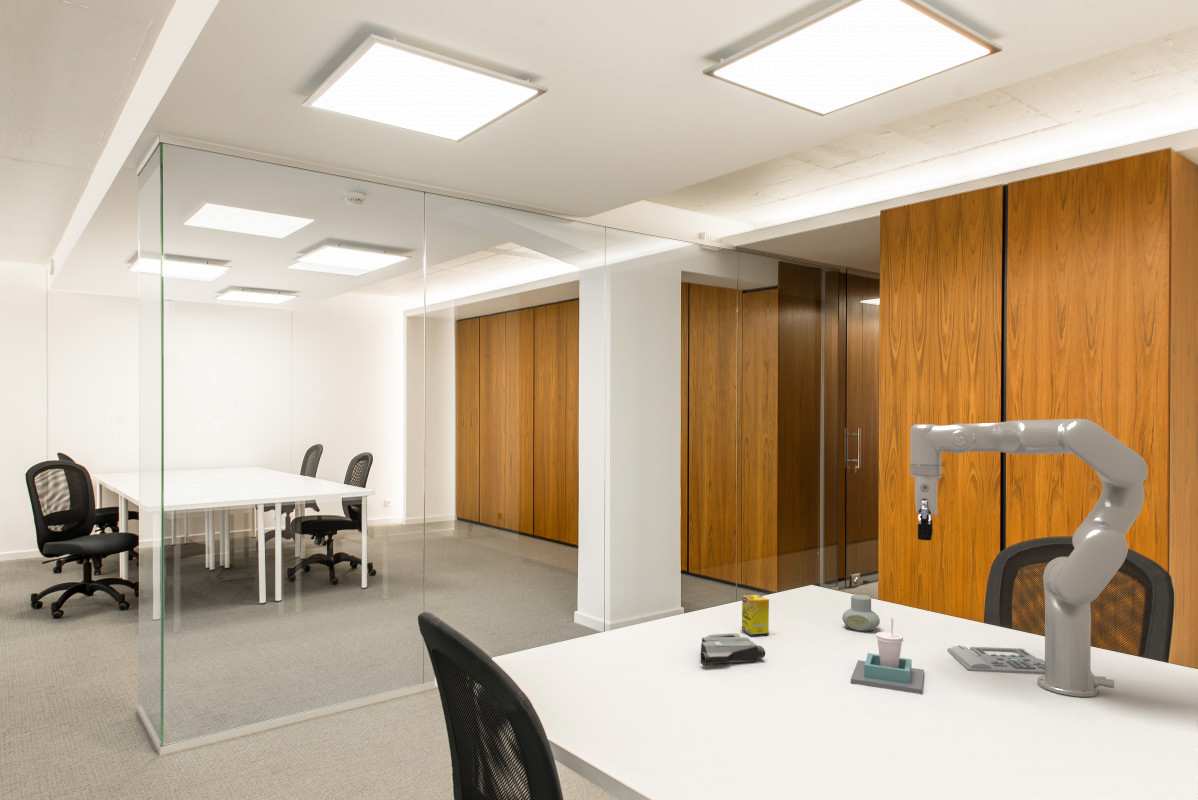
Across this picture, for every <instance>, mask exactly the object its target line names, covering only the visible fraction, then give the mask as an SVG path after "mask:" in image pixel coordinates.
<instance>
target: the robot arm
mask: <svg viewBox="0 0 1198 800" xmlns="http://www.w3.org/2000/svg"><path fill="white" fill-rule="evenodd" d="M909 432H910V437H909V438H910V442H909V443H910V445H909V446H910V448H909V450H910V451H909V453H910V455H909V458H910V460H909V463H910V465H909V477H912V478H914V501H915V503H914V504H915V512H916V515H917V516H918V523H917V539H918V540H920V541H928V542H929V541H932V536H933V519H932V515H933V516H934V517H937V516H938V495H939V493H938V479H941V478H942V456H943V455H942V452H947V453H954V454H964V453H970V452H972V453H973V452H985V453H986V452H989V453H990V452H996V453H1005V454H1011V455H1059V454H1060V455H1063V454H1065V455H1066V454H1072V455H1073V454H1074V455H1075V456H1077V457H1078V458H1079V459H1080V460H1082V461H1083V462H1084V463H1086V464H1087V465H1088V466H1089V467H1091V468H1092V469H1093V470H1095V473H1096V475H1097V476H1098V477H1099V479H1100V481H1101V485H1102V490H1101V493H1100V494H1101V495H1100V496H1099V498H1098V500H1097V501H1096V503H1095V504H1094V506H1093V508H1091V511H1090V512H1089V513H1088V515H1087V516H1086V517H1085V518H1084V520H1083V521H1082V522H1081V523H1080V525H1079V526H1078V527H1077V528H1076V530H1075V531H1074V533H1073V535H1072V538H1071V539H1072V546H1073V548H1074V549H1073V550H1072V551H1071V553H1070V554H1069V556H1059V557H1055V558H1054V559H1052V560H1050V561H1049V562H1048V563H1047V564H1046V566H1045V568H1044V571H1043V579H1042V580H1043V581H1042V582H1043V593H1044V661H1045V675H1043V674H1041V675H1039V676H1038V677H1037V685H1039V686H1040V687H1041V688H1043V689H1045V690H1047V691H1050V692H1052V693H1057V694H1060V695H1065V696H1072V697H1081V698H1084V697H1085V698H1086V697H1087V698H1088V697H1095V696H1097V695H1098V694H1099V687H1104V688H1108V689H1115V681H1114V679H1111V678H1110V679H1109V678H1106V676H1100V675H1099V676H1098V675H1095V674H1093V672H1092V670H1091V658H1092V657H1091V656H1092V655H1091V653H1092V651H1091V645H1092V642H1091V641H1092V640H1091V638H1092V637H1091V636H1092V634H1091V633H1092V632H1091V631H1092V613H1091V603H1092V602H1093V601H1094V600H1096V598H1098V597H1099V596H1100V594H1101V593H1102V592H1103V590H1105V588H1106V587H1107V585H1108V584H1109V583H1110V581H1111V580H1112V579H1113V578H1114V576H1115V575H1116V573H1117V572H1118V571H1119V569H1120V568H1121V567H1122V566H1123V564H1124V563H1125V560H1126V557H1127V555H1128V552H1129V551H1128V550H1129V545H1128V542H1127V539H1126V538H1125V536H1126V535H1127V533H1128V532H1129V531H1130V529H1131V527H1133V524H1134V523H1135V521H1136V520H1137V519H1138V517H1139V515H1140V513H1141V511H1142V509H1143V506H1144V502H1145V487H1144V483H1143V482H1144V481H1145V480H1146V479H1147V477H1148V474H1149V473H1148V472H1149V468H1148V464H1147V463H1146V461H1145V460H1144V458H1143V457H1142V456H1141V455H1140V454H1138V453H1137V452H1136V451H1134V450H1133V449H1132V448H1130V447H1128V445H1127V444H1125V443H1123V442H1122V441H1121V440H1119V439H1118V438H1116V437H1115V436H1114V435H1112V433H1109V432H1108V431H1107V430H1106V429H1104V428H1103V427H1101V426H1100V425H1099V424H1097V423H1095V422H1094V421H1092V420H1089V419H1085V418H1063V419H1059V418H1058V419H1023V420H1022V419H1018V420H1017V419H1016V420H1009V421H1001V422H989V423H988V422H985V423H984V422H983V423H982V422H981V423H980V422H979V423H953V424H945V425H938V424H934V423H933V424H932V423H931V424H930V423H915V424H913V425H912V426H911V428H910V431H909Z"/></svg>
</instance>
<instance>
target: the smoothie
mask: <svg viewBox="0 0 1198 800" xmlns="http://www.w3.org/2000/svg"><path fill="white" fill-rule="evenodd" d="M875 636H876V637H875V639H876V640H877V646H878V655H879V656H880V665H881V666H886V667H892V668H898V666H899V659H900V658H901V652H902V651H901V650H902V645H903V644H902V643H903V642H904V636H902V635H901V634H899V633H897V632H896V633H895V632H894V617H891V618H890V632H889V631H880V632H877V633H876V635H875Z"/></svg>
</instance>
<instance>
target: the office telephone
mask: <svg viewBox="0 0 1198 800" xmlns="http://www.w3.org/2000/svg"><path fill="white" fill-rule="evenodd" d="M947 652H948V654H949V655H951V656H952V658H954V660H955V661H957V662H958V664H960V665H961V666H962V667H963V668H964V669H965V670H966V671H969V672H982V673H983V672H984V673H1004V674H1006V673H1008V674H1025V675H1026V674H1027V675H1045V659H1042V658H1038V657H1036V656H1034V655H1033V654H1031V653H1029V652H1028V651H1026V650H1025V649H1024V648H1019V647H1017V648H1014V647H992V646H991V647H990V646H989V647H988V646H987V647H986V646H984V647H983V646H970V648H968V647H967V646H963V645H959V644H958V645H953V646H951V647H950V648H949V647H948V648H947ZM987 652H993V653H994V652H995V653H994V654H988V653H987ZM996 652H997V653H998V652H999V653H1000V652H1001V653H1014V654H1009V655H1007V654H996ZM1015 653H1016V654H1017V655H1016V654H1015Z"/></svg>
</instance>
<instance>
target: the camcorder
mask: <svg viewBox="0 0 1198 800" xmlns="http://www.w3.org/2000/svg"><path fill="white" fill-rule="evenodd" d="M765 656H766V650H765V648H764V647H763V646H762V645H757V644H756V643H755V642H754V641H752V640H751V639H750V638H749V637H746V636H741V635H740V634H739V633H731V632H730V633H718V634H717V633H716V634H715V633H714V634H709V635H707V636H705V637H702V638H701V647H700V661H701V662H700V663H701V665H702V667H705V666H706V665H708V664H713V663H716V664H723V663H724V664H726V663H727V664H729V663H754V662H756V661H757V660H759V659H763V658H765Z"/></svg>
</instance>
